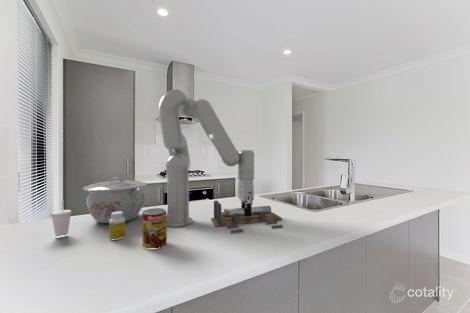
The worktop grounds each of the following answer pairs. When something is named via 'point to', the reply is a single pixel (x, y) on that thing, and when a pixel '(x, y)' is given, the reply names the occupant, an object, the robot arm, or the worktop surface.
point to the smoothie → (61, 221)
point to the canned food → (154, 228)
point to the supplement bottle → (116, 225)
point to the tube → (241, 211)
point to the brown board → (240, 218)
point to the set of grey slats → (242, 229)
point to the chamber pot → (115, 199)
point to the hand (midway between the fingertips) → (246, 214)
